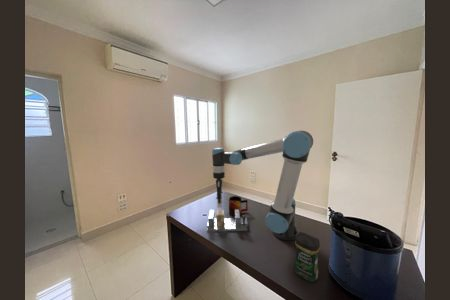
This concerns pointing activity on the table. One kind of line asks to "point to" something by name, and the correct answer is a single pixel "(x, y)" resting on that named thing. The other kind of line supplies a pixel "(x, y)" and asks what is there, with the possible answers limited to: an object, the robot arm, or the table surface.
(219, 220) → the block
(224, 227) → the vise bed
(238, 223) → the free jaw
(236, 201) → the mug
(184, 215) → the table surface
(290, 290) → the table surface
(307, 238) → the coffee jar
